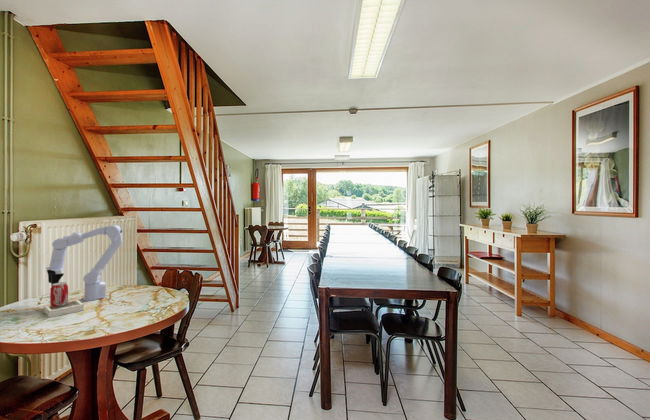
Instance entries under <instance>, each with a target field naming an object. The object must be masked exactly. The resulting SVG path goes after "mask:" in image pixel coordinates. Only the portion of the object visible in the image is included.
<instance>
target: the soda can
mask: <svg viewBox="0 0 650 420" xmlns="http://www.w3.org/2000/svg"><path fill="white" fill-rule="evenodd" d="M49 292H50V294H49V297H50V298H49V300H50V301H49V302H50V303H49V304H50V307H52V308H53V309H54V308H55V309H59V308H64V307H65V306H66V305H68V302H69V285H68V284H67V282H64V281H63V282H58V283H55V284H52V286H51V287H50V291H49Z"/></svg>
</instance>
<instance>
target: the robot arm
mask: <svg viewBox="0 0 650 420" xmlns="http://www.w3.org/2000/svg"><path fill="white" fill-rule="evenodd" d="M97 235H98V236H99V235H104V236H105V235H107V237H108V238H109V240H110V242H111V243H110V245H109V246H108V247H107V248H106V250H105V251H104V253H103V254H102V255H101V257H100V258H99V259H98V261H97V262H96V264H94V266H93V268H91V270H90V271H89V272H88V273H87V274H85V275H84V277H83V282H84V297H82V300H84V301H85V302H88V301H93V300H99V299H104V298H107V296H106V294H107V293H106V291H107V289H106V282H105V281H101V280H100V279H101V278H102V273H103V272H104V270H105V268H106V266H107V265H108V264H109V262H110V261H111V259H112V258H113V257H114V255H116V253H117V251H118V249H120V247H121V246H122V244H123V229H122V227H121V226H120V225H119V224H112V225H108V226H102V227H101V226H100V227H98V228H95V229H93V230H89V231H87V232H84V233H82V232H73V233H72V234H71V235H68V236H67V235H63V236H62V238H61V237H60V238H56V239H55V240H53V242H51V244H52V253H51V256H50V260H49V266H48V267H46V268H45V269H46V272H47V277H48V279H47V281H48V284H51V287H52V284H55V283H60V280H61V278H62V277H63V276H64V275H65V273H62V270H63V271H64V264H65V259H66V254H67V248H69V247H71V246H75V245H77V244H80V243H83V242H84V241H85V239H88V238H91V237H95V236H97Z"/></svg>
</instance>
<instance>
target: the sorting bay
mask: <svg viewBox="0 0 650 420" xmlns="http://www.w3.org/2000/svg"><path fill="white" fill-rule="evenodd" d="M84 305H85V304H84V303H82V301H80V300H79V299H76V300H74V305H72V306H71V305H70V306H67V307H65V306H64V307H59V308H55V309H52V308H50V306H49V305H44V313H45V315H47V317H48V318H53V317H58V316H63V315H69V314H71V313H77V312H82V311H84V309H85V307H84Z"/></svg>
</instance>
